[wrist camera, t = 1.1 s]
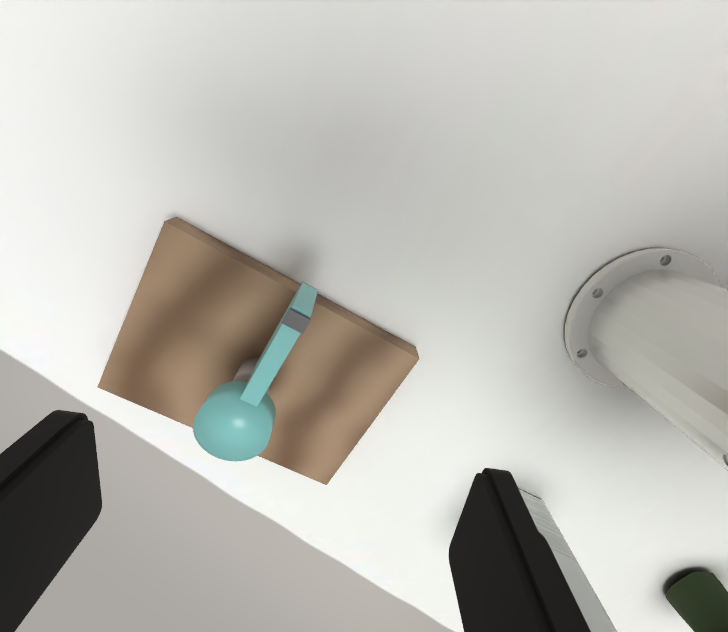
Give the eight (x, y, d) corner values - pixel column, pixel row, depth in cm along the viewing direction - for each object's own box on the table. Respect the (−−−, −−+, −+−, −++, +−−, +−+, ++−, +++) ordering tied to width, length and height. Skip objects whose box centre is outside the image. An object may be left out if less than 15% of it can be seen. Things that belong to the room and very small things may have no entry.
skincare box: (497, 544, 44) (562, 720, 30) (453, 526, 43) (501, 700, 29) (545, 496, 41) (640, 664, 28) (500, 475, 40) (577, 640, 26)
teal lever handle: (264, 429, 31) (249, 474, 27) (205, 403, 30) (179, 445, 26) (341, 303, 27) (339, 332, 23) (277, 268, 26) (261, 291, 22)
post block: (415, 347, 34) (430, 392, 28) (327, 469, 39) (322, 531, 33) (176, 217, 30) (126, 234, 23) (111, 374, 35) (55, 425, 28)
